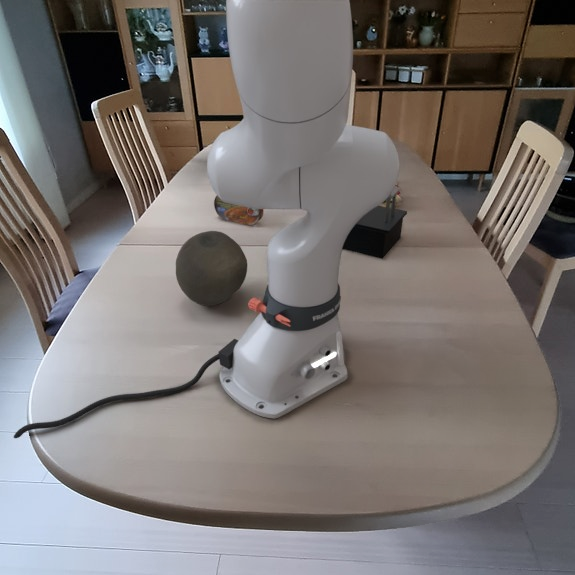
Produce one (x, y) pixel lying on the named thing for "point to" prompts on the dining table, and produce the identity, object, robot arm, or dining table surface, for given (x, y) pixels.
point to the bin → (372, 241)
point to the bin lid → (383, 216)
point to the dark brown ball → (210, 268)
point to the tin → (237, 213)
